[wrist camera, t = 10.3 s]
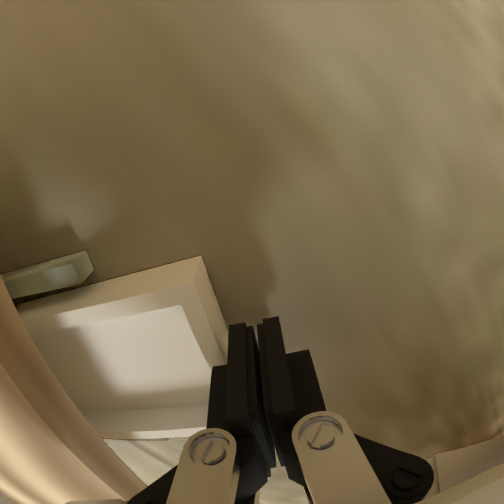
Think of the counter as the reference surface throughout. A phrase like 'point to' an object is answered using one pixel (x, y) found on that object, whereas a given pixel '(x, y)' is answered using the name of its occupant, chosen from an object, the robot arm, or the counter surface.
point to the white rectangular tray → (135, 349)
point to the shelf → (49, 409)
